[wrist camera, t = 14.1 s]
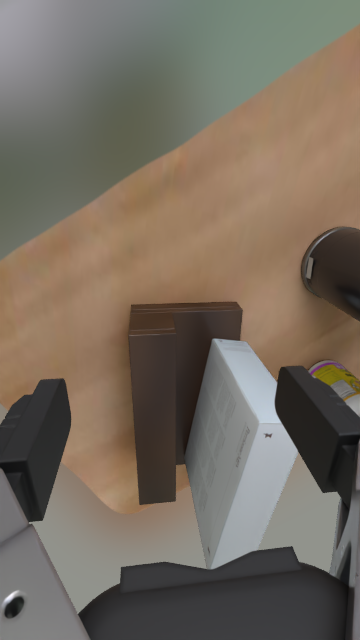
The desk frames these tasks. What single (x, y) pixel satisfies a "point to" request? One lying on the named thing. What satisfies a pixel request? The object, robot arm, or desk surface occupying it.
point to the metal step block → (170, 383)
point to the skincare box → (236, 452)
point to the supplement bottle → (339, 382)
